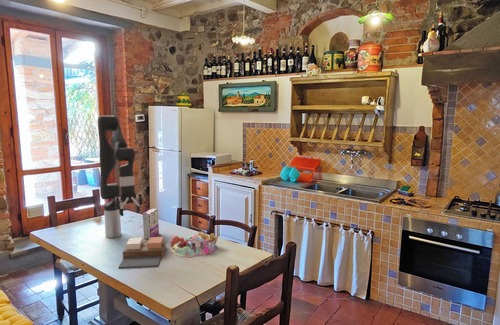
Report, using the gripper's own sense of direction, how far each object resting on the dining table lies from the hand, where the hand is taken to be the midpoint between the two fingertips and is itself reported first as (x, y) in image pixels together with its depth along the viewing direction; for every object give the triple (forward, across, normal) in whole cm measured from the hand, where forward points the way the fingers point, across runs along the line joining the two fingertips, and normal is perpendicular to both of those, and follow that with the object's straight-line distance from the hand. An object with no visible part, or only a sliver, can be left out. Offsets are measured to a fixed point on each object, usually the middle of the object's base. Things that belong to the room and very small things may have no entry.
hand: (129, 214), depth 182 cm
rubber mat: (+24, +2, +12) cm, 27 cm away
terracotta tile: (+19, -11, +5) cm, 22 cm away
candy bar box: (+20, -20, -20) cm, 35 cm away
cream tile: (+18, -2, -1) cm, 18 cm away
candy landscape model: (+24, -30, +15) cm, 41 cm away
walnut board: (+22, -6, +2) cm, 23 cm away
